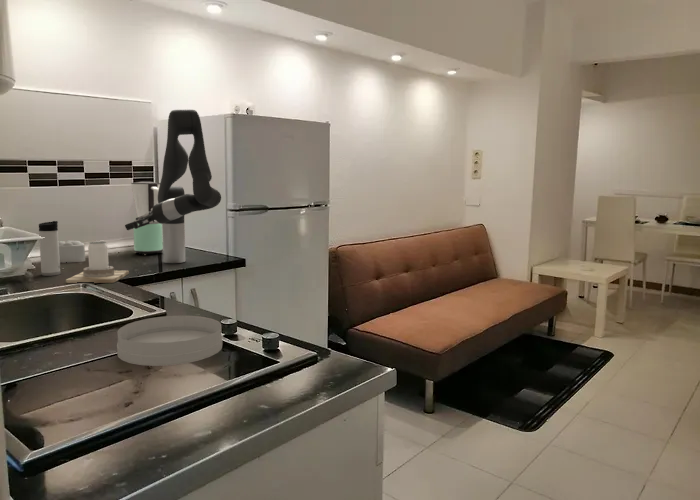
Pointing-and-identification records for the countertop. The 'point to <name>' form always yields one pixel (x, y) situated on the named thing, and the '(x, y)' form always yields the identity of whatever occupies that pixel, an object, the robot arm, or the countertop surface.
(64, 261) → the light grey rounded block
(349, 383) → the countertop surface
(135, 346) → the dish
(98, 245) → the can
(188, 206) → the robot arm
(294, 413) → the countertop surface
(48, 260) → the travel mug
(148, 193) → the juicer
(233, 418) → the countertop surface
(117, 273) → the socket plate
